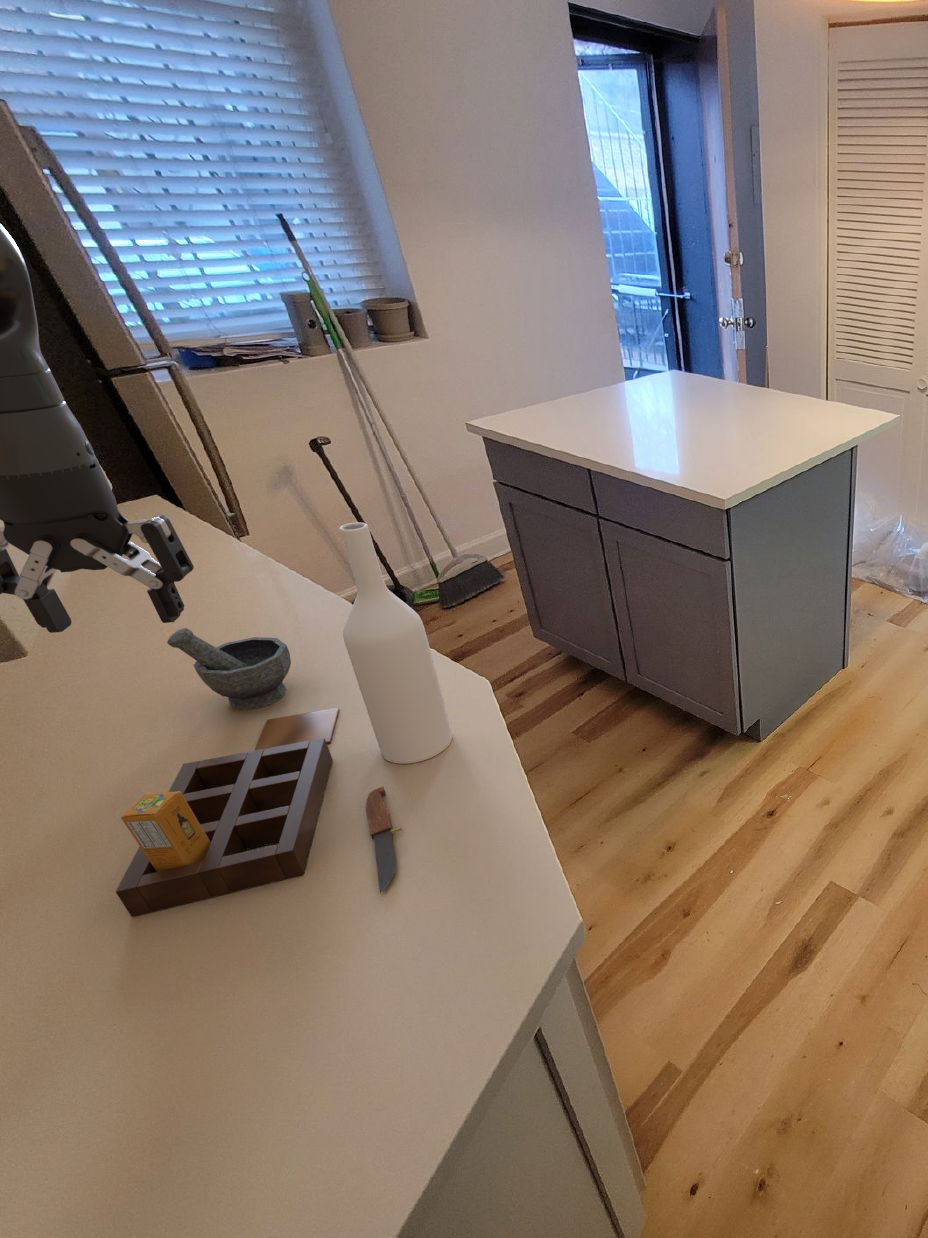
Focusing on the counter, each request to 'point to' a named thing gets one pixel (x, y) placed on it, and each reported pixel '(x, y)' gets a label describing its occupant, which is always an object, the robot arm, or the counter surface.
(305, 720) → the coaster
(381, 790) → the knife
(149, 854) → the supplement box
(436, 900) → the counter surface
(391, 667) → the bottle
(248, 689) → the mortar and pestle
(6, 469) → the robot arm
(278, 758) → the rack
